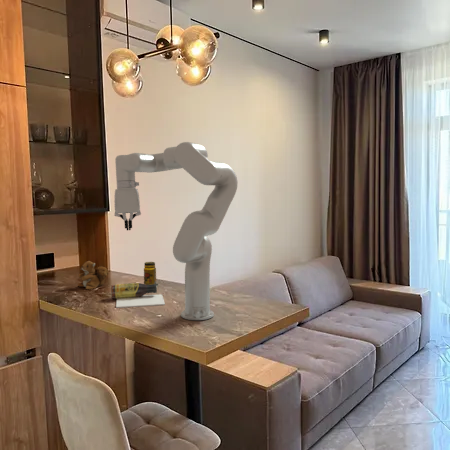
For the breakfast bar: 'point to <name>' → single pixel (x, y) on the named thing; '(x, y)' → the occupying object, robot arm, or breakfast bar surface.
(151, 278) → the condiment
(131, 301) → the mat
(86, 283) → the stuffed squirrel
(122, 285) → the sauce bottle
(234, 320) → the breakfast bar surface
